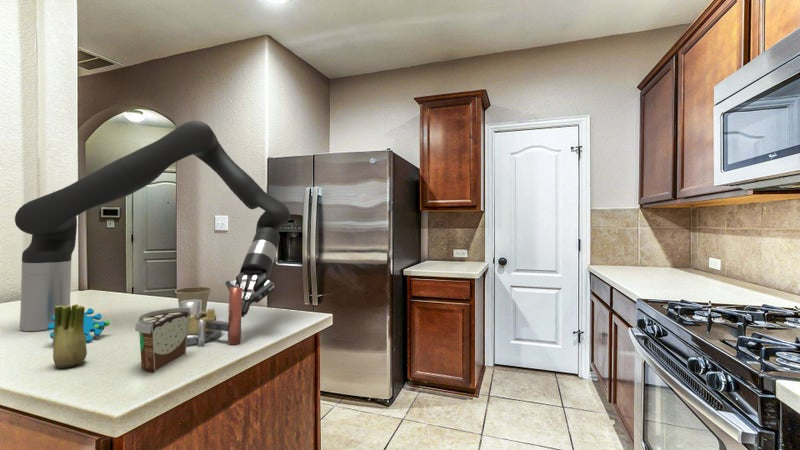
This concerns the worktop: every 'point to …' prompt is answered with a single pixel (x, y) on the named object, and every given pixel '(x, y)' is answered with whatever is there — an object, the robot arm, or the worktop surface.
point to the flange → (199, 325)
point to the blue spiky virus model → (87, 325)
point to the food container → (162, 337)
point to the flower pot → (194, 295)
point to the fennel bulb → (69, 336)
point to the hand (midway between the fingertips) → (239, 315)
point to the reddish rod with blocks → (231, 326)
